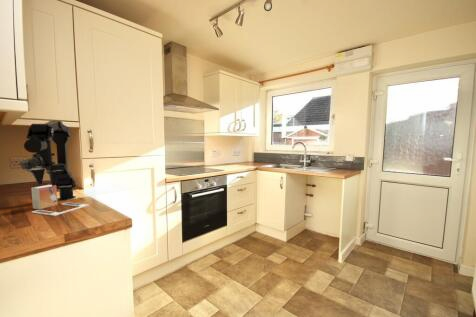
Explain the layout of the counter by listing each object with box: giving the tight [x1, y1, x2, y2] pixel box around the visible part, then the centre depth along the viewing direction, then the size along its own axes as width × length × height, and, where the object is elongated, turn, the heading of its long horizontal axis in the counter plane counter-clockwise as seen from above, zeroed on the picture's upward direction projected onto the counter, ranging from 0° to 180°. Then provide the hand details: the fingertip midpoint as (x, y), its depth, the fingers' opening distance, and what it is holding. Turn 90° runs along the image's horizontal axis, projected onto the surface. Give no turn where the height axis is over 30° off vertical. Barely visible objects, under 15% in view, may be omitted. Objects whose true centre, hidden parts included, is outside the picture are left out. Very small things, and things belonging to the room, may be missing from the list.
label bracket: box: [30, 202, 90, 217], centre depth 107 cm, size 16×16×1 cm
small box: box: [30, 184, 58, 210], centre depth 110 cm, size 8×6×10 cm
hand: (46, 185), depth 102 cm, fingers open, 9 cm apart
